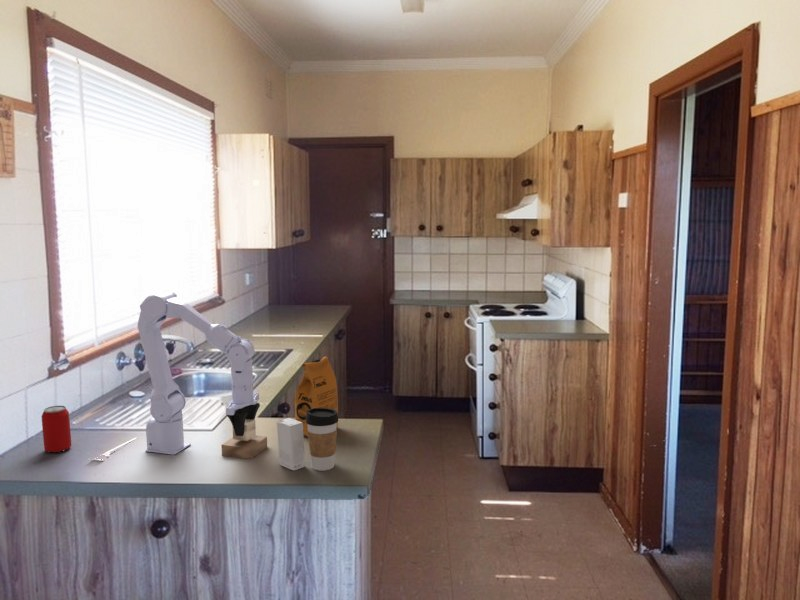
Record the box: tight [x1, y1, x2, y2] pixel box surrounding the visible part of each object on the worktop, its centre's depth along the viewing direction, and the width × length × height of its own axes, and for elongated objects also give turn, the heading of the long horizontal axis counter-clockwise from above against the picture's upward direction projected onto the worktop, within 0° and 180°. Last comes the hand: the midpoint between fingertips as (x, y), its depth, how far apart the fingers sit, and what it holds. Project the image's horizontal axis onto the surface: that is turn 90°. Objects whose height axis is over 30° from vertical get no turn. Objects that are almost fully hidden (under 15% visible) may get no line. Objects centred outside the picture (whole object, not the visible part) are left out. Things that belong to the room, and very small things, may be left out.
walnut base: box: [221, 435, 268, 460], centre depth 178 cm, size 9×9×3 cm
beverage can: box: [41, 405, 72, 453], centre depth 179 cm, size 7×7×12 cm
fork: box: [87, 437, 138, 462], centre depth 179 cm, size 3×20×2 cm, turn 169°
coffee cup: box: [306, 408, 339, 472], centre depth 167 cm, size 8×8×15 cm
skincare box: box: [276, 417, 306, 472], centre depth 167 cm, size 6×4×12 cm
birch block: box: [231, 419, 257, 441], centre depth 178 cm, size 4×4×4 cm
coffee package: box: [294, 356, 339, 438], centre depth 192 cm, size 10×12×22 cm
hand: (244, 432), depth 178 cm, fingers closed on birch block, 4 cm apart
